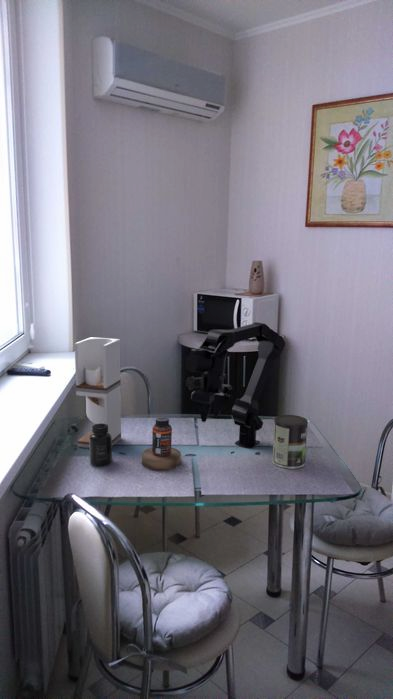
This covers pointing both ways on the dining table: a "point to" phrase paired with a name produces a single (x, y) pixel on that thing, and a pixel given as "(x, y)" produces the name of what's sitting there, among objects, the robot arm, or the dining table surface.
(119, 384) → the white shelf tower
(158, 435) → the supplement bottle
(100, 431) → the supplement bottle
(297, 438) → the coffee can
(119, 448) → the dining table surface
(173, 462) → the walnut stand
